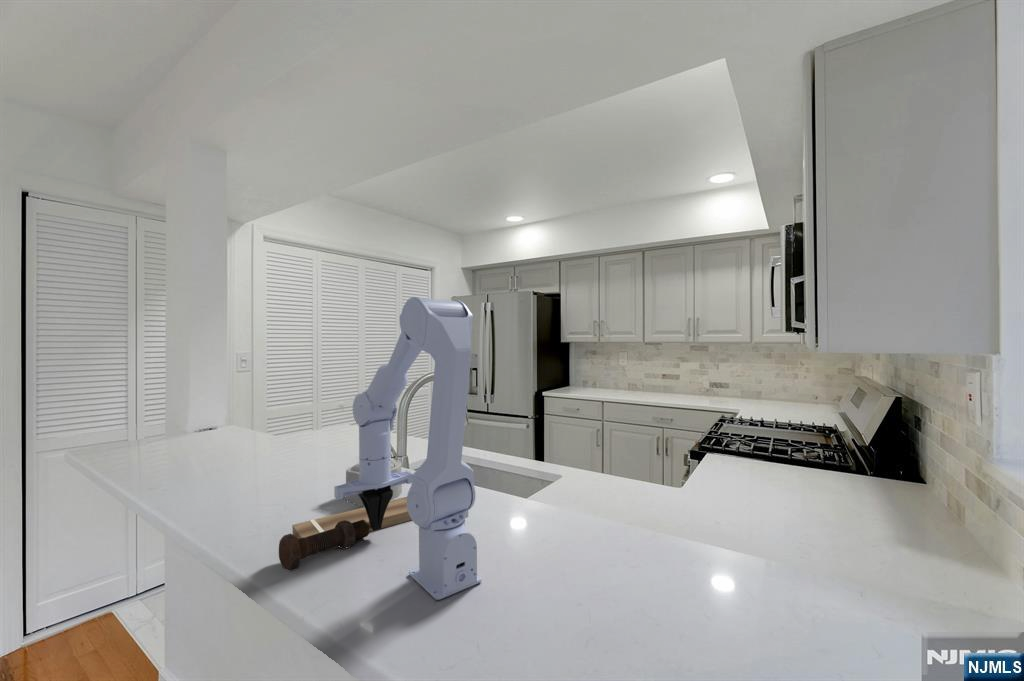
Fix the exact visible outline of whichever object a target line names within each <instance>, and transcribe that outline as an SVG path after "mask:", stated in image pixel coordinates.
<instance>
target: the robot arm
mask: <svg viewBox="0 0 1024 681" xmlns="http://www.w3.org/2000/svg"><path fill="white" fill-rule="evenodd" d="M473 321H474V315H473V313H472V312H471V311H470V309H469V308H468V306H467V305H466V304H465V303H464V301H461V300H459V299H458V300H455V299H453V300H447V299H445V300H444V299H435V298H434V299H431V298H421V297H419V296H412V297H409V298H408V299H407V300H406V302H405V303H404V305H403V307H402V310H401V312H400V315H399V327H400V328H399V329H400V334H399V337H398V339H397V342H396V344H395V346H394V349H393V351H392V354H391V356H390V358H389V361H388V363H385V364H384V363H383V364H382V365H380V366H379V367H378V369H377V370H376V373H375V375H374V376H373V379H372V380H371V382H370V384H369V386H368V388H367V389H366V391H362V393H358V394H356V395H355V397H354V400H353V403H352V416H353V419H354V421H355V423H356V424H357V425H358V445H359V446H358V462H359V479H358V480H355V481H352V482H349V483H346V482H345V483H343V484H339V485H336V486H334V487H333V488H334V489H333V490H334V494H333V496H334V498H335V499H336V500H338V501H339V500H342V499H344V498H346V497H347V496H352V495H356V494H358V495H359V497H360V499H361V500H362V502H363V504H364V507H365V509H366V512H367V515H368V518H369V523H370V528H372V529H373V530H374V531H378V530H382V528H381V526H382V521H383V517H384V514H385V511H386V508H387V506H388V504H389V502H390V500H391V498H392V496H393V490H391V487H392V486H396V485H400V484H402V485H404V484H408V485H409V484H411V485H410V488H409V490H407V491H408V492H407V496H406V497H407V510H408V513H409V516H410V517H411V519H412V520H411V521H412V522H414V524H415V525H417V526H418V567H416V568H412V569H411V570H409V571H408V574H409V576H410V577H411V578H412V579H413V580H414V581H416V583H418V585H420V586H421V587H422V588H423V589H424V590H425V591H426V592H427V593H428V594H429V595H431V597H433V598H434V600H436V601H439V600H442V599H444V598H445V599H446V598H447V597H449V596H452V595H454V594H456V593H459V592H461V591H463V590H465V589H469V588H471V587H473V586H476V585H477V584H480V583H482V580H483V579H482V577H481V576H480V575H478V550H477V549H478V546H477V541H476V539H475V537H474V535H472V533H470V531H469V530H468V527H467V525H466V519H467V518H469V510H471V509H472V507H473V506H474V505H475V502H476V488H475V484H474V483H475V482H474V475H475V474H474V473H475V471H474V470H473V468H471V467H472V466H470V465H468V463H466V462H465V461H463V460H462V458H463V449H464V446H463V445H464V438H465V437H464V436H465V428H466V426H465V425H466V418H467V417H466V415H467V405H468V404H467V403H468V395H469V394H468V393H469V385H470V384H469V383H470V373H471V372H470V371H471V363H472V362H471V361H472V345H471V344H472V343H471V342H472V334H473ZM422 351H423V352H424V353H427V354H430V356H431V357H432V359H433V360H434V370H433V382H432V391H431V393H432V394H431V405H430V415H429V416H430V417H429V426H428V427H429V428H428V429H429V430H428V437H427V438H428V441H427V451H426V459H425V460H424V461H423V462H422V464H421V465H420V466H419V467H418V468H417V469H416V470H415V471H414V473H413V472H411V471H409V470H408V471H402V472H400V473H391V458H392V456H391V454H392V452H391V449H392V448H391V447H392V446H391V445H392V443H391V440H392V438H391V432H392V431H393V429H394V423H395V422H394V421H395V419H396V417H397V413H398V407H397V406H396V405H397V404H396V403H397V401H398V399H399V398H400V396H401V394H402V393H403V391H404V390H405V388H406V386H407V385H408V383H409V376H408V370H409V369H410V368H411V367H412V365H413V363H414V362H415V361H416V359H417V358H418V357H419V355H420V354H421V352H422ZM391 501H392V500H391ZM374 531H373V532H374Z"/></svg>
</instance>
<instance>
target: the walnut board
mask: <svg viewBox="0 0 1024 681" xmlns="http://www.w3.org/2000/svg"><path fill="white" fill-rule="evenodd" d="M343 520H346V521H349V522H351V523H353V522H357V521H360V520H366V522H367V523H368V524H369V525H370V523H369V518H368V515H367V512H366V509H365V507H360V508H356V509H352V510H348V511H343V512H339V513H336V514H332V515H328V516H324V517H320V518H316V519H314V518H312V519H310V520H306V521H303V522H299V523H295V524H292V528H291V529H292V535H294V536H295V537H297V538H298V539H299V538H302V537H303V538H305V537H308V536H311V535H314V534H317V533H320V532H324V531H327V530H330V529H333V528H335V526H336V525H337V523H338V522H340V521H343ZM410 521H413V520H412V519H411V517H410V516H409V513H408V510H407V496H406V497H401V498H395V499H393V500H391V501H390V502H389V504H388V506H387V508H386V511H385V514H384V517H383V521H382V526H381V529H385V528H388V527H392V526H396V525H398V524H399V525H400V524H402V523H406V522H410ZM372 530H373V529H372V528H370V529H369V531H371V532H373V531H372Z"/></svg>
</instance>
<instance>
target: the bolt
mask: <svg viewBox="0 0 1024 681" xmlns="http://www.w3.org/2000/svg"><path fill="white" fill-rule="evenodd" d="M369 529H370V525H369V524H368V523H367V522H366V520H360V521H357V522H353V523H351V522H349V521H346V520H343V521H340V522H338V523H337V525H336V526H335V528H333V529H330V530H327V531H324V532H320V533H317V534H314V535H311V536H308V537H305V538H303V537H302V538H299V539H298V538H297V537H295V536H294V535H293V533H288V534H284V535H283V536H282V537H281V539H280V541H279V544H278V559H279V562H280V565H281V567H282V568H283V569H284V570H286V571H289V572H291V571H294V570H296V569H298V568H299V566H300V562H301V561H302V560H305V559H307V558H309V557H312V556H314V555H316V554H319V553H323V552H325V551H328V550H332V549H335V548H340V547H342V548H346V547H349V546H351V547H352V546H353V545H354V543H355V541H358V540H361V539H364V538H366V537H368V536H369V535H370V533H371V532H370V531H369ZM338 546H340V547H338ZM349 548H350V547H349ZM346 549H347V548H346Z"/></svg>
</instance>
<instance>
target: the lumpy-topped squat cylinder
mask: <svg viewBox="0 0 1024 681" xmlns="http://www.w3.org/2000/svg"><path fill="white" fill-rule="evenodd" d="M400 472H403V470H402V462H401V461H400V460H398V459H397V460H396V459H394V458H392V457H391V473H400ZM358 479H359V463H356V464H355V465H353V466H351V467H347V468H346V470H345V484H346V483H349V482H352V481H355V480H358ZM402 485H403V484H400V485H396V486H392V487H391V490H393V496H392V498H391V500H390V501H392V500H396V499H398V497H400V495H401V494H402V491H403V490H402V488H403V486H402ZM345 501H348V502H347V503H349V502H352V503H351V504H353V503H356V504H355V505H357V504H358V505H357V506H359V505H360V506H359V507H362V506H364V504H363V502H362V500H361V499H360V497H359V495H358V494H356V495H352V496H347V497H345Z"/></svg>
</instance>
